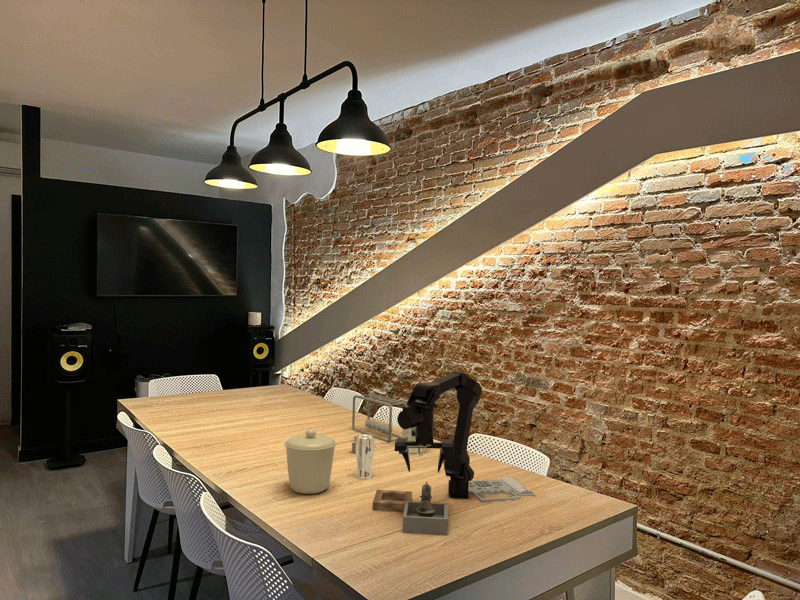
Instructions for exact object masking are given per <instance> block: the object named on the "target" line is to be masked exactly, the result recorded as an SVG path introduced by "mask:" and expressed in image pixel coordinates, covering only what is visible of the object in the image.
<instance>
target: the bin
mask: <svg viewBox="0 0 800 600" xmlns="http://www.w3.org/2000/svg"><path fill="white" fill-rule="evenodd" d="M420 505H421V501H416V500H415V501H414V500H412V501H405V507H404V512H402V513H403V514H402V533H407V534H408V533H410V534H411V533H412V534H425V535H427V534H428V535H442V536H443V535H444V536H445V535H446V536H448V524H449V523H448V522H449V520H448V519H449V518H448V516H449V515H448V503H447V502H432V501H431V506H432V507H433V508H435V512H434V515H433V517H419V516H418V514H417V511H416V508H417V507H419V506H420Z"/></svg>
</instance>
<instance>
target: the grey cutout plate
mask: <svg viewBox="0 0 800 600" xmlns="http://www.w3.org/2000/svg"><path fill="white" fill-rule="evenodd" d="M513 492H514V493H513ZM469 493H472V494H471V495H472V496H474V497H475V496H476V497H477V498H478V499H477V498H476V497H475V498H476V499H477V500H478V501H479V502H480V501H481V502H480V503H494V501H499V502H507V501H506V500H512V501H516V500H515V499H521V498H522V497H521V496H533V497H535V496H536V492H534V491H532V490H531V489H529V488H528V487H527V486H525V484H523V483H521V481H519V480H518V479H517V478H513V477H511V476H504V477H502V478H499V479H481V480H480V479H479V480H472V481H469V488H468V494H469ZM498 493H503V494H505V493H506V494H505V495H507V496H505V497H486V496H485V494H489V495H499V494H498ZM515 493H516V494H517V495H516V494H515ZM483 494H484V495H483ZM508 495H509V496H510V497H509V496H508ZM519 496H520V497H519ZM492 501H493V502H492Z"/></svg>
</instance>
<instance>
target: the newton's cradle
mask: <svg viewBox="0 0 800 600" xmlns="http://www.w3.org/2000/svg"><path fill="white" fill-rule="evenodd" d="M366 396H367V397H366ZM371 397H372V398H371ZM356 398H357V399H360V400H363V401H365V402H366V405H367V410H366V412H367V416H366V417H367V419H366V420H365V421H364V426H365V427H366V429H370V428H373V429H375V430H374V431H376V430H378V431H377V432H379V431H381V432H380V433H382V432H384V433H383V434H385V433H387V434H386V435H388V434H389V435H388V439H386V438H383V437H381V436H378V435H376V434H372V433H369V432H366V431H363V430H365V429H364V428H365V427H362V428H360V430H358V429H359V428H356V427H355V423H356V422H355V419H356V415H355V414H356ZM381 400H382V401H381ZM386 401H387V402H386ZM390 402H391V403H390ZM373 404H376V406H375V408H376V409H375V412H378V410H377V409H378V406H379V405H381V407H383V406H385V407H386V408H388V409H389V415H388V417H389V419H388V417H387V415H385V418H383V416H382V414H380V416H379V417H378V414H375V416H374V417H376V416H377V419H378V418H382V421H383V423H381V421H380V420H378V421H376V419H372V420H371V413H372V416H373V415H374V414H373V413H374V412H373V411H371V410H373ZM395 405H404V406H407V402H405V401H402V400H398V399H394V398H391V397H388V396H387V397H386V396H383V395H379V394H375V393H369V394H360V395H357V394H356V395H353V398H352V414H351V415H352V416H351V417H352V420H351V421H352V422H351V423H352V424H351V427H352V430H353V431H354V430H356V431H355V432H357V431H358V432H357V433H359V432H361V433H360V434H362V433H364V434H363V435H365V434H367V435H372V436H374V437H375V438H374V439H376V438H378V439H377V440H379V439H381V440H380V441H382V440H383V442H385V441H386V443H390V442H392V440H393V441H395V440H396V439H397V437H399V438H402V436H401V435H397V434H395V433H393V426H392V422H393V421H392V420H393V419H392V418H393V409H394V407H393V406H395ZM388 409H385V412H386V413H385V414H387V413H388ZM380 410H381V411H380V413H383V412H382V410H383V408H380ZM383 419H387V422H388V424H386V423H385V422H386V421H384V420H383ZM373 429H372V430H373ZM391 435H393V436H391ZM394 436H396V437H395V438H394V439H392V437H394Z"/></svg>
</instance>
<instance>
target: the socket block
mask: <svg viewBox="0 0 800 600" xmlns="http://www.w3.org/2000/svg"><path fill="white" fill-rule="evenodd" d="M405 501H413V491H408V490H393V489H392V490H390V489H389V490H388V489H376V491H375V495H374V498H373V500H372V511H376V510H381V511H380V512H394V511H396V512H397V513H398V512H399V513H400V512H401V513H404V507H405Z"/></svg>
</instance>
